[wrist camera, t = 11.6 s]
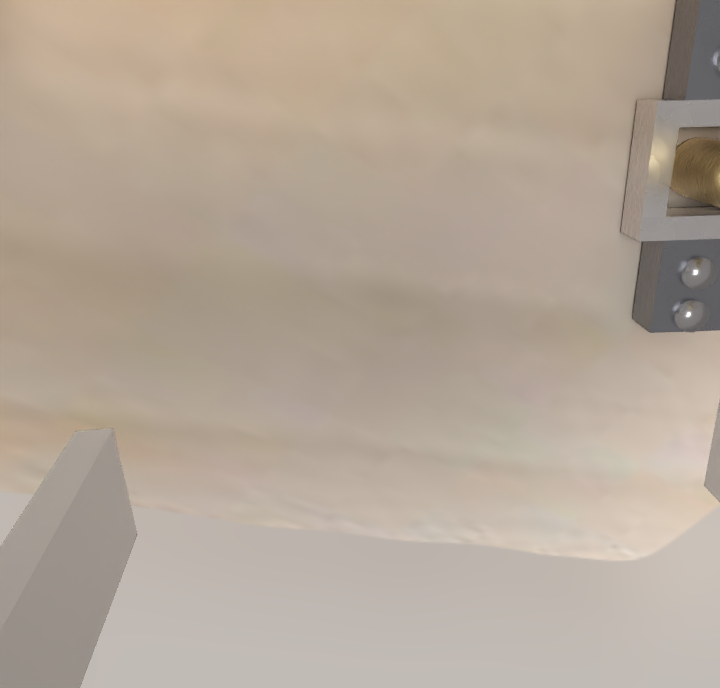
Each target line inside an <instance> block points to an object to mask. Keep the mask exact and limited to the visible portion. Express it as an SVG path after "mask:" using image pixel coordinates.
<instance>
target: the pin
mask: <svg viewBox="0 0 720 688" xmlns="http://www.w3.org/2000/svg"><path fill="white" fill-rule="evenodd" d="M670 187H671V188H672V189H673V190H674V191H675V192H676V193H678V194H680V195H683V196H686V197H689V198H692V199H696V200H699V201H702V202H705V203H708V204H711V205H714V206H717V207H720V140H714V139H708V138H694V139H690V140H688V141H686V142H684V143H682V144H681V145H680V146H679V147H678V148H677V149H676V152H675V158H674V165H673V171H672V178H671V185H670Z"/></svg>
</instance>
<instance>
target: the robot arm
mask: <svg viewBox="0 0 720 688" xmlns="http://www.w3.org/2000/svg"><path fill="white" fill-rule="evenodd" d="M704 486H705V487H706V488H707V489H708V490H709V491H710V492H711V494H712V495H713V496H714V497H715V498H716V499H717V500H718V501H719V502H720V401H719V406H718V412H717V417H716V423H715V428H714V433H713V439H712V444H711V450H710V455H709V461H708V466H707V472H706V477H705V482H704ZM136 537H137V531H136V526H135V522H134V518H133V513H132V509H131V505H130V500H129V496H128V492H127V487H126V483H125V478H124V474H123V470H122V465H121V461H120V457H119V452H118V448H117V443H116V439H115V435H114V430H113V428H109V429H97V430H84V431H76V432H75V433H74V435H73V436H72V438H71V439H70V441H69V442H68V444H67V445H66V447H65V448H64V450H63V451H62V453H61V455H60V456H59V458H58V459H57V461H56V462H55V464H54V465H53V467H52V468H51V470H50V471H49V473H48V474H47V476H46V477H45V479H44V481H43V482H42V484H41V485H40V487H39V488H38V490H37V491H36V493H35V494H34V496H33V497H32V499H31V500H30V502H29V504H28V505H27V507H26V508H25V510H24V511H23V513H22V514H21V516H20V517H19V519H18V520H17V522H16V523H15V525H14V526H13V528H12V529H11V531H10V533H9V534H8V536H7V537H6V539H5V540H4V542H3V543H2V545H1V546H0V688H80V686H81V684H82V681H83V678H84V676H85V673H86V670H87V668H88V665H89V662H90V660H91V657H92V654H93V652H94V649H95V646H96V644H97V641H98V638H99V635H100V633H101V630H102V628H103V625H104V622H105V620H106V617H107V614H108V612H109V609H110V606H111V603H112V601H113V598H114V596H115V593H116V590H117V588H118V585H119V582H120V580H121V577H122V574H123V572H124V569H125V566H126V564H127V561H128V558H129V556H130V553H131V550H132V548H133V545H134V542H135V539H136Z"/></svg>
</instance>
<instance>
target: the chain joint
mask: <svg viewBox="0 0 720 688" xmlns="http://www.w3.org/2000/svg"><path fill="white" fill-rule="evenodd" d="M711 126H720V0H677V3H676V10H675V17H674V24H673V31H672V39H671V46H670V53H669V60H668V67H667V74H666V81H665V89H664V96H663V99H653V100H637V107H636V115H635V123H634V131H633V139H632V147H631V155H630V162H629V170H628V178H627V186H626V194H625V202H624V210H623V218H622V226H621V233H623V234H625V235H627V236H629V237H631V238H633V239H635V240H637V241H643V246H642V253H641V260H640V267H639V274H638V281H637V288H636V296H635V303H634V310H633V317H632V319H633V320H634V321H636V322H637V323H638V324H640V325H641V326H642V327H643V328H645V329H646V330H647V331H648V332H650V333H655V332H683V331H686V332H695V331H711V330H720V207H692V208H667V205H668V198H669V191H670V185H671V178H672V171H673V165H674V158H675V152H676V145H677V138H678V132H679V127H711Z"/></svg>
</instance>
